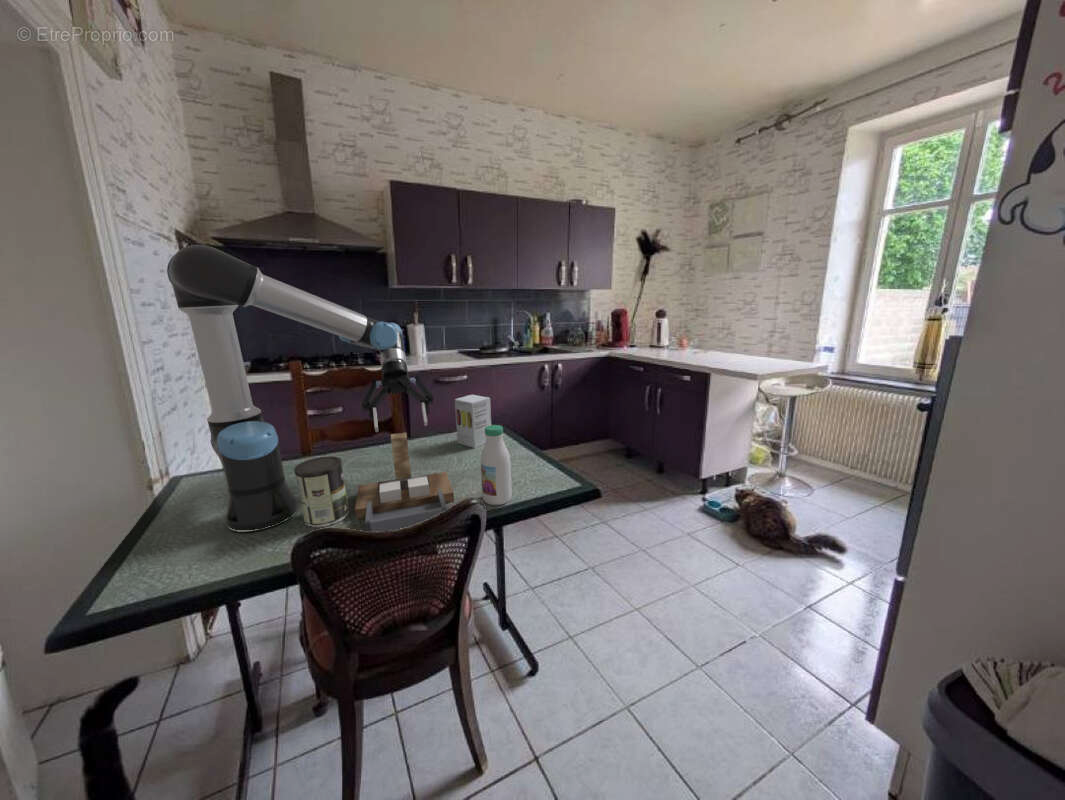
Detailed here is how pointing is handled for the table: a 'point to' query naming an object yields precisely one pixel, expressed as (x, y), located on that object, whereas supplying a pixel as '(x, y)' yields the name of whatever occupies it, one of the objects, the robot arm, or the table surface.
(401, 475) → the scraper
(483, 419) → the supplement box
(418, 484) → the tile right
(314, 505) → the coffee can
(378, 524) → the tray
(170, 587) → the table surface
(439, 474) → the flat wooden board
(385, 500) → the tile left
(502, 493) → the milk bottle
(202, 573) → the table surface
